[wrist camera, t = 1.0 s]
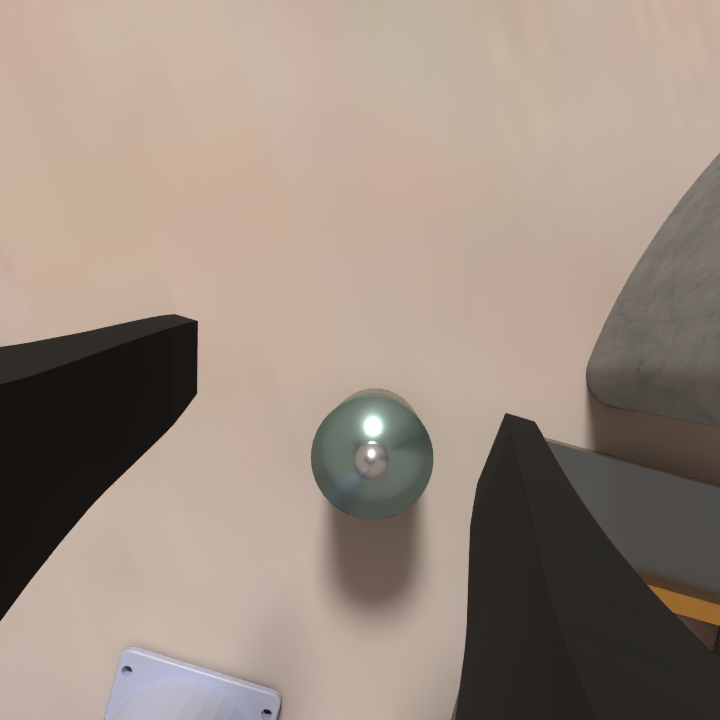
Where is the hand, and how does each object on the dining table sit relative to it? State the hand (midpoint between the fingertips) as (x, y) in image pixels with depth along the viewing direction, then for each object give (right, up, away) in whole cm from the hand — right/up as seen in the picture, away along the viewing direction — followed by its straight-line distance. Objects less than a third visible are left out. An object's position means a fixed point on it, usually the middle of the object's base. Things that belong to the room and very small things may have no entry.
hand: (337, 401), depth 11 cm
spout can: (+1, -3, +13) cm, 13 cm away
